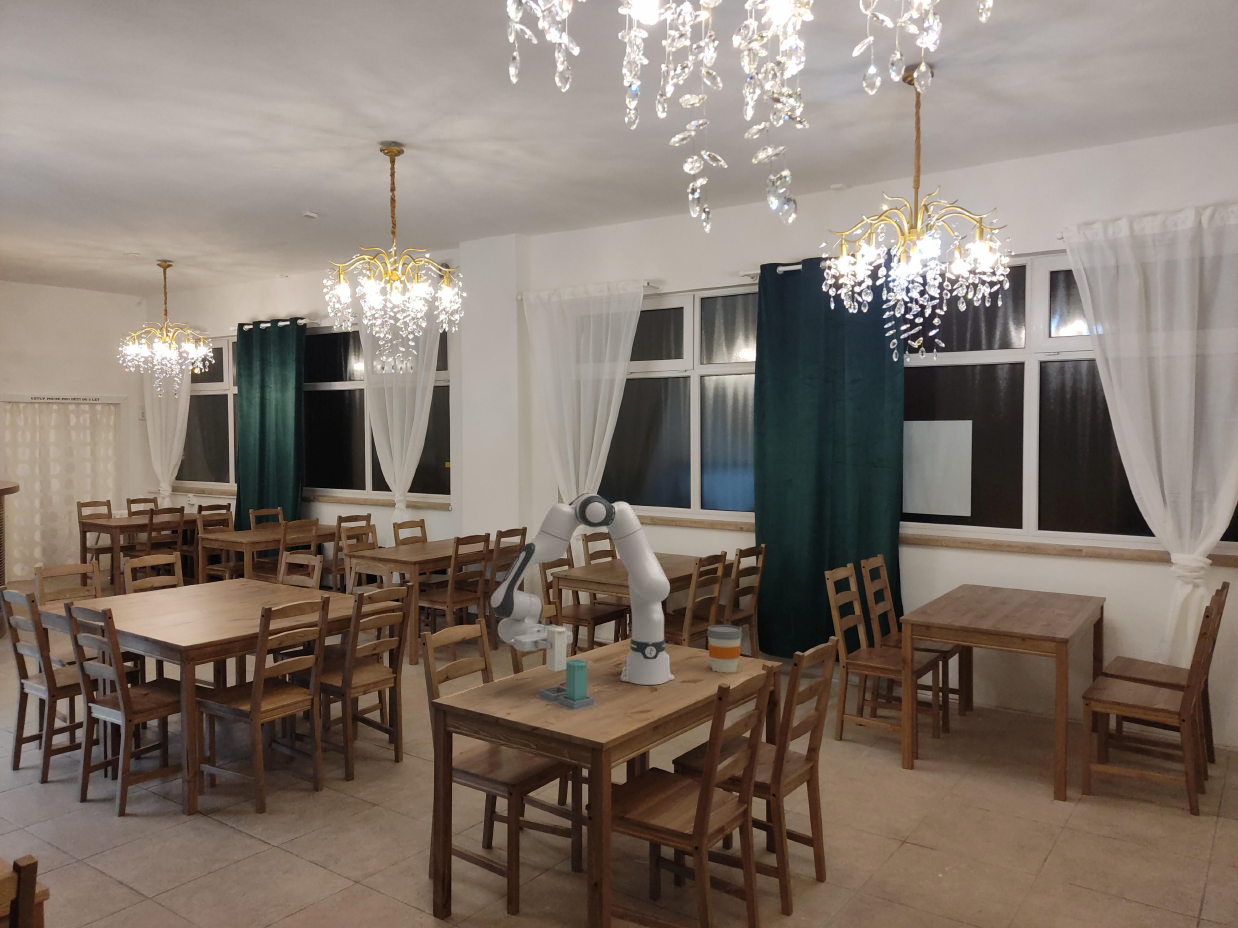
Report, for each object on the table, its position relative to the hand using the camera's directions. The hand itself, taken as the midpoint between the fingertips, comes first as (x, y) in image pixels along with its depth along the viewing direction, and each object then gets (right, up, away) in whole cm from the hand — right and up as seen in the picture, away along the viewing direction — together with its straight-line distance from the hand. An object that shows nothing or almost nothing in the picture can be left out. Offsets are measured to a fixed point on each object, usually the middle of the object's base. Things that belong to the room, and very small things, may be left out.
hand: (558, 644), depth 277 cm
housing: (+3, -18, -3) cm, 19 cm away
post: (-1, -8, +1) cm, 8 cm away
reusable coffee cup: (+57, -18, +42) cm, 73 cm away
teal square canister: (+6, -17, -6) cm, 19 cm away
